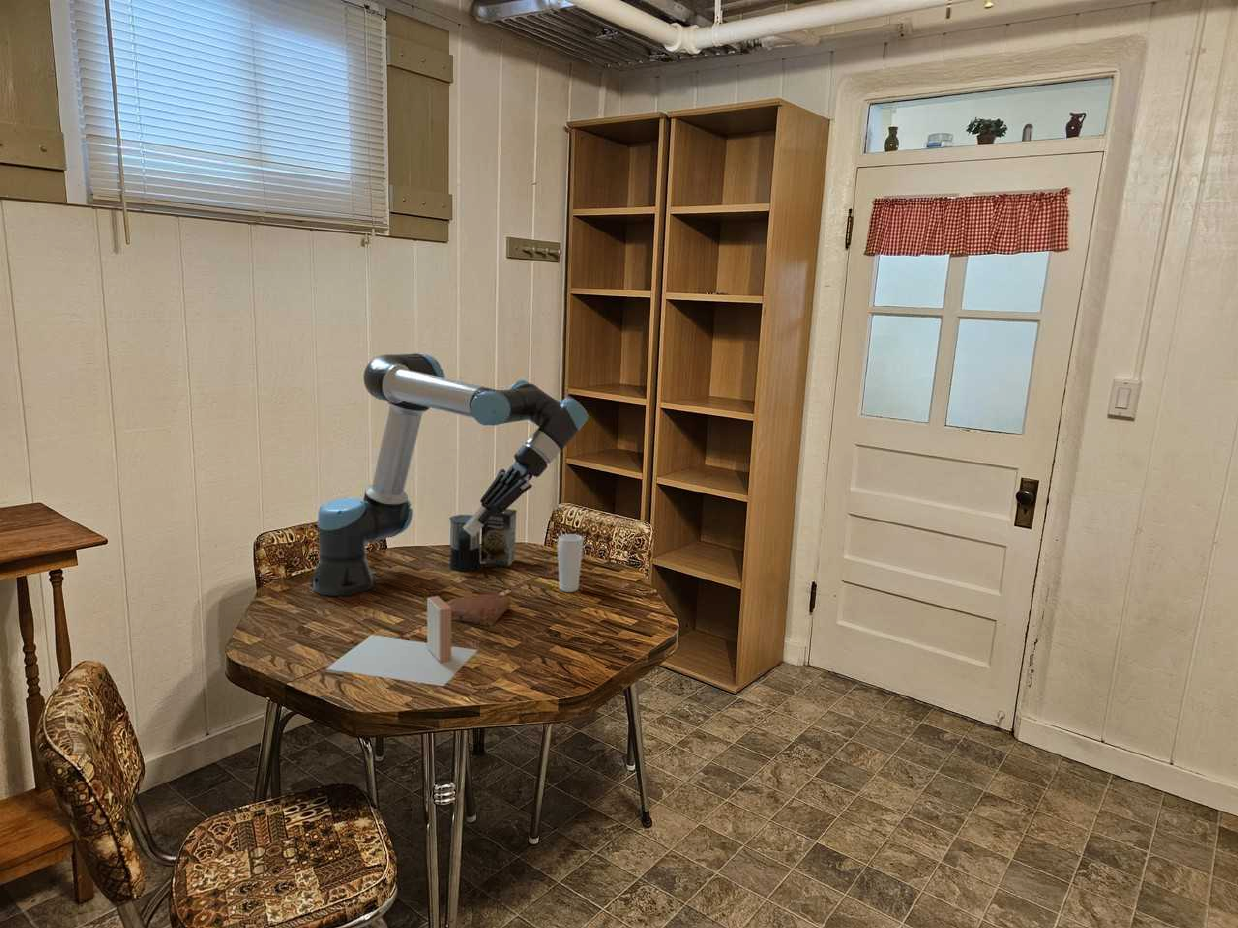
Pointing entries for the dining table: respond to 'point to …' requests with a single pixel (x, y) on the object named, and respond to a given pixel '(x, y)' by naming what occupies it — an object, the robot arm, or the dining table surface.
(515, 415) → the robot arm
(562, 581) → the drinking glass
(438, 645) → the terracotta tile
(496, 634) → the dining table surface
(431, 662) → the grey mat
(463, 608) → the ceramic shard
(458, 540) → the milk frother
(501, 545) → the dark cardboard box
